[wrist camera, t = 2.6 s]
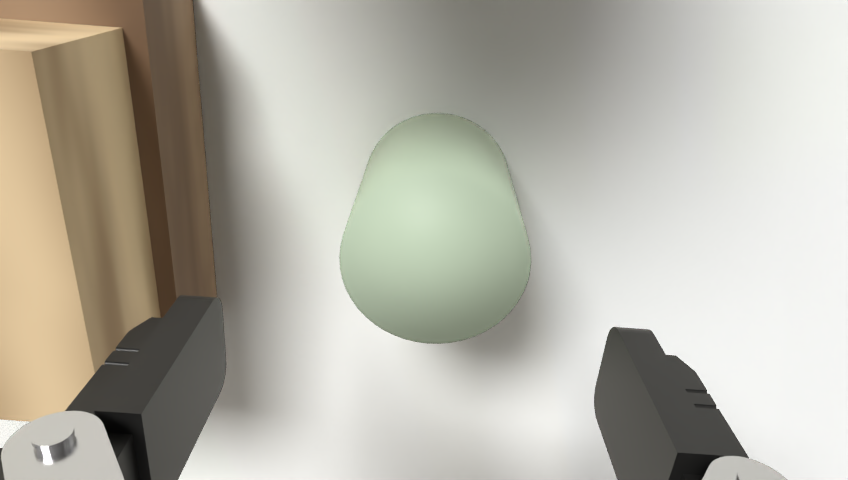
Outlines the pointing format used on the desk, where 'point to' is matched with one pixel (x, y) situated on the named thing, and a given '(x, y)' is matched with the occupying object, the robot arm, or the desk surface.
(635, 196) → the desk surface
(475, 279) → the green capsule
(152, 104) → the walnut base block
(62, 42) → the oak top block
